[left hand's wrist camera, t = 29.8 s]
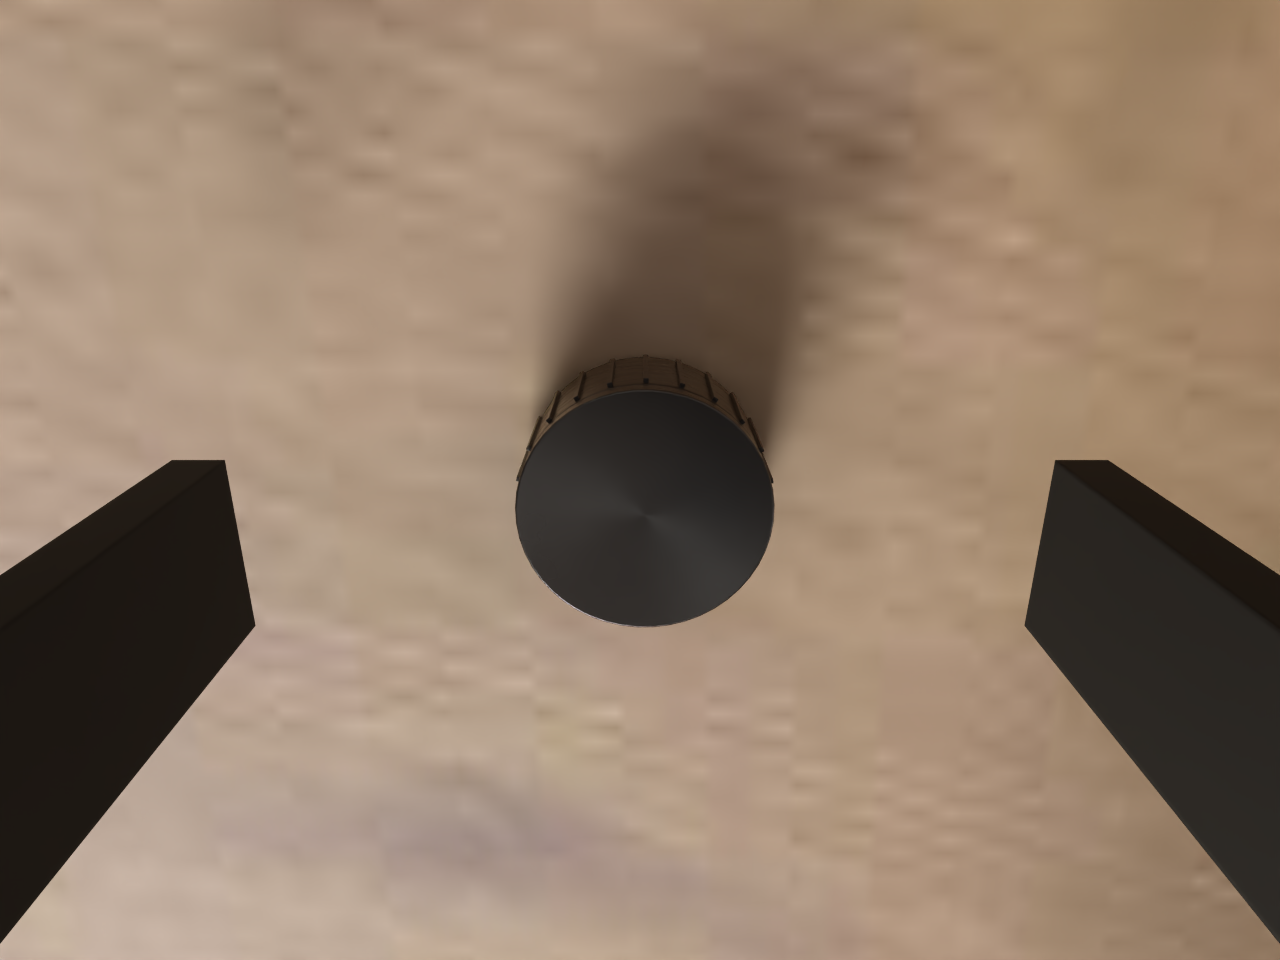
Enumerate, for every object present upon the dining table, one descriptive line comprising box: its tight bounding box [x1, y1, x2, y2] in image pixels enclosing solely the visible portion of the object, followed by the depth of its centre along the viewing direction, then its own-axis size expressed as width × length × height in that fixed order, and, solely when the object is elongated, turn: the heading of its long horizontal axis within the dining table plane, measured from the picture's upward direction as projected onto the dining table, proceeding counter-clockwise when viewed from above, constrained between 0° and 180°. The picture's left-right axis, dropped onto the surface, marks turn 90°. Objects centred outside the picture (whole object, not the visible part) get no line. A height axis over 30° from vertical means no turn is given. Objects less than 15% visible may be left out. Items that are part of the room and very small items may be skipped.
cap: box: [515, 355, 774, 627], centre depth 15 cm, size 4×4×2 cm
